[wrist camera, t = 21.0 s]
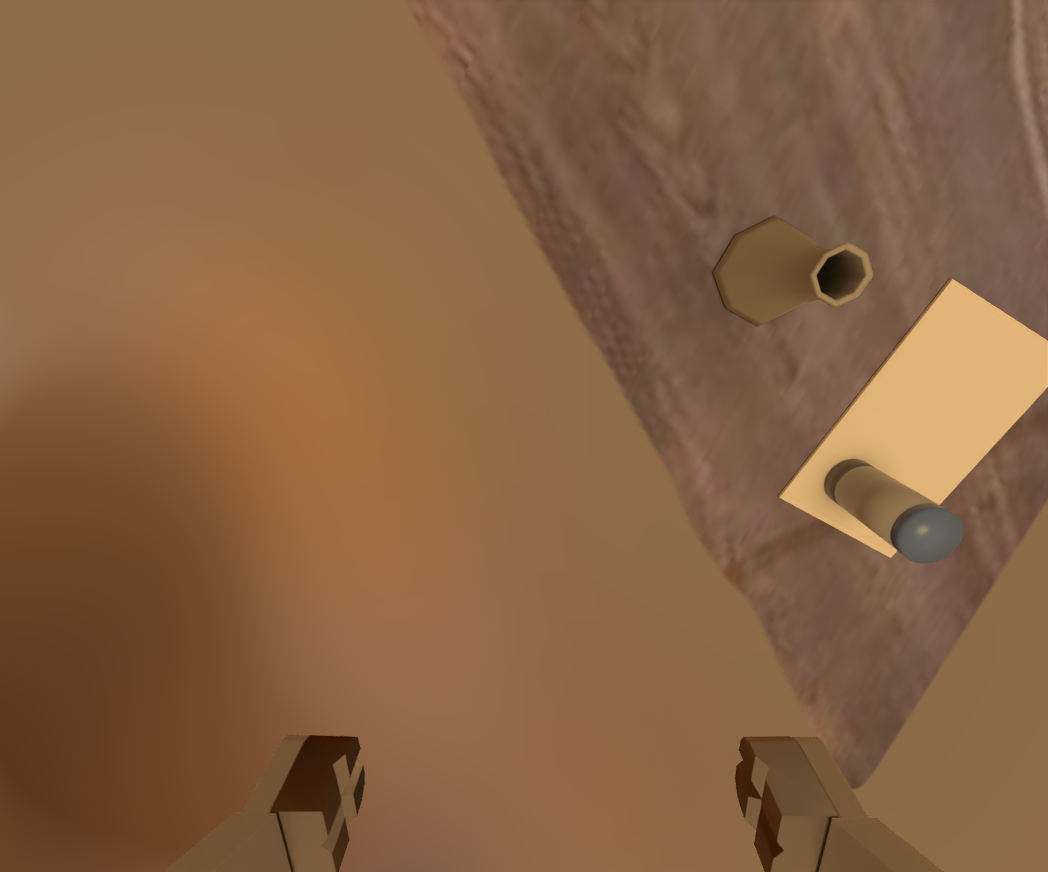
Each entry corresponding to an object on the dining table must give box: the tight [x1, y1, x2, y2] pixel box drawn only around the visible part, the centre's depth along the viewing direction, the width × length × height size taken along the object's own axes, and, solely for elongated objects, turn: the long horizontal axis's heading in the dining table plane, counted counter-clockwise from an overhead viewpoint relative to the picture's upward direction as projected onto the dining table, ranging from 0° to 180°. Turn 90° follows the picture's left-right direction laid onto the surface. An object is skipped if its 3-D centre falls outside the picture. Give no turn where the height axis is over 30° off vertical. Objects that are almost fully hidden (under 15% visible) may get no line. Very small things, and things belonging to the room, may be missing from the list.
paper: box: [778, 279, 1048, 558], centre depth 40 cm, size 20×12×1 cm, turn 152°
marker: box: [824, 459, 964, 564], centre depth 37 cm, size 4×4×9 cm
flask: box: [713, 216, 874, 326], centre depth 32 cm, size 7×7×10 cm
